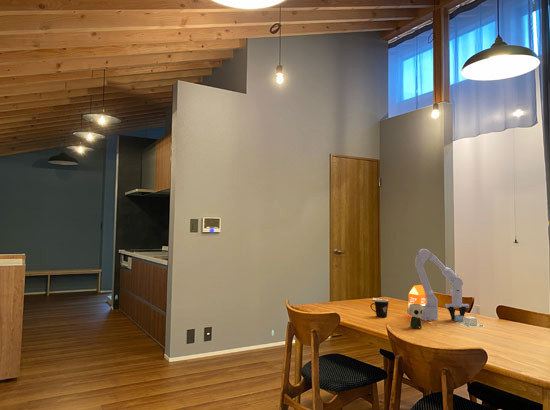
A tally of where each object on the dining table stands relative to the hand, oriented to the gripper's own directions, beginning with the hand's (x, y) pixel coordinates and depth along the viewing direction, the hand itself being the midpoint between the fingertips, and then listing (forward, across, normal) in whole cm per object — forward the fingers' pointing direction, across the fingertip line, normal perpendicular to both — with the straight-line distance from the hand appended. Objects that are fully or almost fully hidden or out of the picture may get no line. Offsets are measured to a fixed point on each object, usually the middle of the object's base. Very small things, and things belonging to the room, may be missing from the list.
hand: (457, 319), depth 251 cm
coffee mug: (+2, -43, +17) cm, 46 cm away
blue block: (+1, 0, 0) cm, 1 cm away
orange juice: (+2, -17, +17) cm, 24 cm away
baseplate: (+1, +1, -12) cm, 12 cm away
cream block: (0, +1, -12) cm, 12 cm away
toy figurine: (+2, -34, -15) cm, 37 cm away
